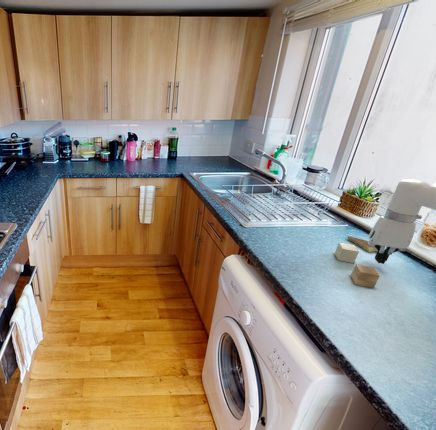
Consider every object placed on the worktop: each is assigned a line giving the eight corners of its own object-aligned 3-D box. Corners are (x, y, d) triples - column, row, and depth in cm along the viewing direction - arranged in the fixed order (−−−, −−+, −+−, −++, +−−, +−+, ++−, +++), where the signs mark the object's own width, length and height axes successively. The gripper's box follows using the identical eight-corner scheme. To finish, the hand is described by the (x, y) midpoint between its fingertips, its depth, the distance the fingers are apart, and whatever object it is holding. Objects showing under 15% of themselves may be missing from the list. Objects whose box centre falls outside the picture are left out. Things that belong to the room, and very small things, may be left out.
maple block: (368, 279, 97) (374, 267, 95) (373, 288, 93) (380, 275, 91) (350, 275, 99) (355, 263, 97) (355, 284, 94) (360, 271, 92)
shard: (345, 238, 123) (347, 235, 122) (362, 238, 123) (364, 234, 123) (367, 252, 113) (369, 248, 112) (385, 252, 114) (387, 248, 113)
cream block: (349, 256, 110) (354, 245, 108) (353, 263, 106) (359, 251, 104) (334, 253, 112) (338, 242, 110) (337, 260, 108) (342, 248, 105)
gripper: (422, 215, 98) (400, 260, 105) (368, 208, 103) (351, 252, 110) (435, 224, 91) (410, 272, 99) (377, 216, 96) (358, 262, 104)
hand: (379, 261), depth 104 cm, fingers closed
